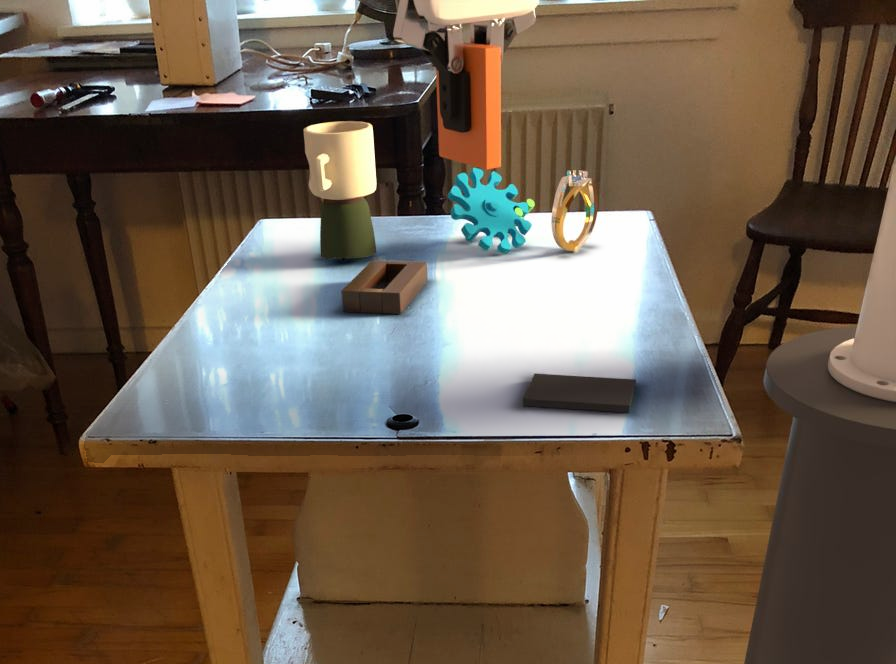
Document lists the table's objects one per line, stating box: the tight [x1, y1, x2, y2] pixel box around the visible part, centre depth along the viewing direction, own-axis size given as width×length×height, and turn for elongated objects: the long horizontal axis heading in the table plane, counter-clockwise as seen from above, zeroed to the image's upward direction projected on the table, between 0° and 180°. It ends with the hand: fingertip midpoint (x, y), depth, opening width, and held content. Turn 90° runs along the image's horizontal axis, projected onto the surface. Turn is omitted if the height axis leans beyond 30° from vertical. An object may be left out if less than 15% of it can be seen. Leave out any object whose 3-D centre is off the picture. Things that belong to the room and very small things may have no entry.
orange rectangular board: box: [435, 41, 502, 171], centre depth 75 cm, size 1×7×8 cm, turn 30°
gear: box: [447, 167, 536, 255], centre depth 108 cm, size 11×6×10 cm
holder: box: [340, 259, 429, 315], centre depth 96 cm, size 6×10×2 cm, turn 164°
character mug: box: [303, 120, 378, 263], centre depth 103 cm, size 11×7×13 cm, turn 158°
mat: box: [522, 373, 637, 414], centre depth 75 cm, size 8×5×1 cm, turn 74°
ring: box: [550, 169, 599, 253], centre depth 103 cm, size 7×3×8 cm, turn 134°
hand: (468, 126), depth 76 cm, fingers closed on orange rectangular board, 1 cm apart
